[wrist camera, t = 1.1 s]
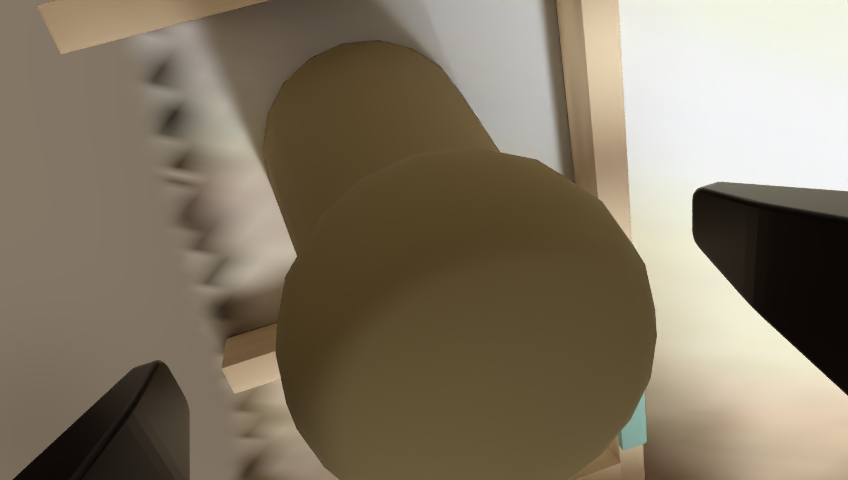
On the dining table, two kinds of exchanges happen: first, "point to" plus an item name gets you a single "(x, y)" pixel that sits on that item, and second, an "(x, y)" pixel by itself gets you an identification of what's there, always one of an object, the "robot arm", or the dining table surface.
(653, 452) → the dining table surface
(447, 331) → the cork
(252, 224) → the dining table surface
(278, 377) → the notch rack
